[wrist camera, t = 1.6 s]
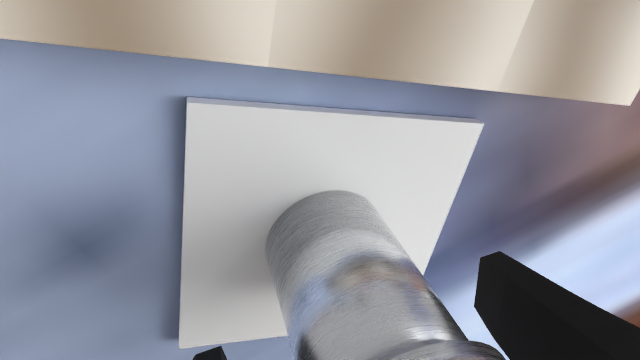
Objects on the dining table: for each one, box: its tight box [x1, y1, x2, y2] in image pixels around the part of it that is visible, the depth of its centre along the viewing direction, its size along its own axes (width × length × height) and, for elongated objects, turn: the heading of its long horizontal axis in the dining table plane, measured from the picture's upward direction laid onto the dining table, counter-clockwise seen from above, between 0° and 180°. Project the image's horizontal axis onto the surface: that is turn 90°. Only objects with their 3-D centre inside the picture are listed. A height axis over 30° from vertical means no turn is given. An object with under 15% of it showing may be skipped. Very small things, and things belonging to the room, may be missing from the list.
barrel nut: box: [265, 190, 506, 360], centre depth 11 cm, size 5×5×7 cm
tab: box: [179, 97, 484, 349], centre depth 14 cm, size 9×9×1 cm
